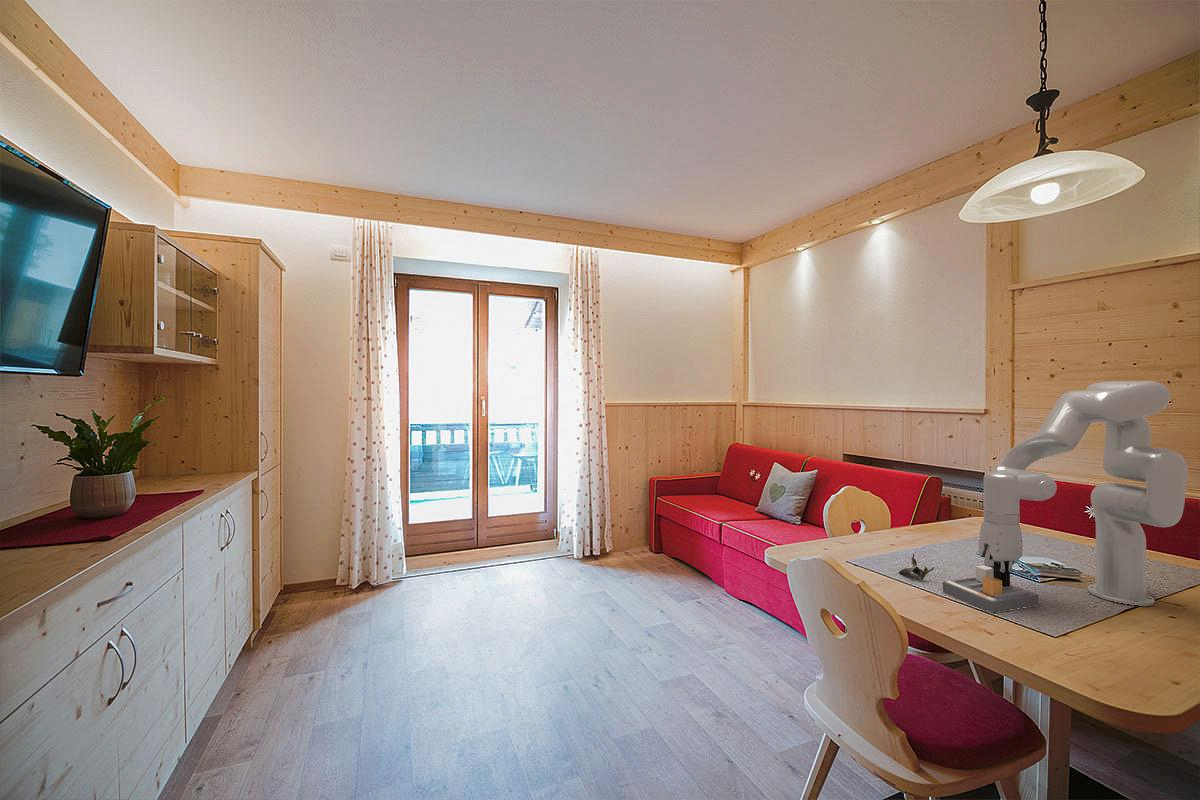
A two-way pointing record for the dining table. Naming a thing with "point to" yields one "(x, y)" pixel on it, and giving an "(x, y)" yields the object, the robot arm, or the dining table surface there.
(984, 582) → the orange tab
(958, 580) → the grey slotted tray
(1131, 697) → the dining table surface
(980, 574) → the white block
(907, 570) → the eagle figurine
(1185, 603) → the dining table surface
